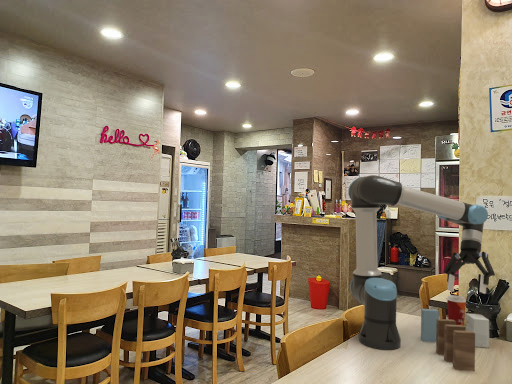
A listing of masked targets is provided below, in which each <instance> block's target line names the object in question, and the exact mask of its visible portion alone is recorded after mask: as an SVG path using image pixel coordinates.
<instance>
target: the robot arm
mask: <svg viewBox="0 0 512 384" xmlns="http://www.w3.org/2000/svg"><path fill="white" fill-rule="evenodd" d="M347 193H348V197H349V199H350V201H351V209H352V210H353V212H354V213H355V246H356V247H355V253H356V255H355V258H356V260H355V262H356V268H355V270H353V272H352V279H351V281H350V284H349V288H350V293H351V295H352V297H353V298H354V300H355V301H357V302H358V303H360V304H361V305H362V306H364V307H363V308H364V310H363V311H364V313H363V315H364V316H363V317H364V318H363V323H362V324H361V325H362V326H361V329H360V330H359V335H358V340H359V343H361V344H363V345H365V346H366V347H367V346H368V347H370V348H372V349H378V350H397V349H399V348H401V341H402V339H401V336H400V332H399V330H398V325H397V301H398V299H397V298H398V290H397V286H396V283H394V282H393V281H392V280H389V279H385V278H382V277H383V275H382V272H381V271H380V270H379V269H378V268H379V267H378V264H379V263H378V225H377V224H378V222H377V221H378V220H377V217H378V216H377V212H378V211H379V210H380V209H381V205H388V206H390V207H391V206H392V207H396V206H401V207H406V208H409V209H413V210H415V211H417V210H418V211H421V212H424V213H429V214H433V215H434V216H435V215H436V216H437V217H438V218H439V219H441V220H443V221H446V222H450V223H452V224H456V225H458V226H461V227H462V232H461V241H460V246H459V247H460V248H459V249H460V252H459V253H457V252H453V253H452V256H451V258H450V260H449V261H448V263H447V265H446V266H445V268H444V270H443V273H445V274H446V275H447V278H446V279H447V280H446V282H447V290H448V291H450V292H454V288H455V281H456V276H454V275H456V273H457V272H458V271H459V270H460V269H461V268H462V266H465V265H470V264H471V265H476V267H477V268H478V270H479V271H480V272H481V273H482V274H481V275H480V283H479V292H480V293H482V294H483V295H486V294H487V293H486V292H487V286H489V284H490V277H494V276H496V272H495V271H494V268H493V266H492V265H491V264H492V263H491V261H490V260H489V254H488V253H487V252H486V251H482V242H483V235H484V234H483V233H484V232H483V231H484V226H485V225H484V224H485V222H486V221H487V220H488V218H489V212H488V210H487V208H486V207H485V206H484V205H480V204H476V203H475V204H472V203H468V202H463V201H459V200H456V199H452V198H448V197H446V196H442V195H437V194H433V193H430V192H428V191H427V192H426V191H422V190H419V189H415V188H412V187H409V186H404V185H403V183H402V182H399V181H396V180H393V179H390V178H386V177H384V176H383V177H382V176H380V175H373V174H371V175H366V176H360V177H358V178H356V179H354V180H353V181H352V182H351V183H350V185H349V187H348V191H347ZM480 258H481V259H482V261H483V264H484V265H483V264H482V262H481V261H480ZM484 266H485V267H484Z"/></svg>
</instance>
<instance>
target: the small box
mask: <svg viewBox="0 0 512 384" xmlns="http://www.w3.org/2000/svg"><path fill="white" fill-rule="evenodd" d="M465 322H466V323H465V325H466V326H465V331H472V332H474V333H475V348H476V347H477V348H488V349H489V348H490V320H489V319H488V318H487V317H485V316H484V315H482V314H479V313H466V312H465Z"/></svg>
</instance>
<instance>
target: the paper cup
mask: <svg viewBox="0 0 512 384" xmlns="http://www.w3.org/2000/svg"><path fill="white" fill-rule="evenodd" d="M466 301H467V299H466V297H464V296H460V295H455V294H454V295H453V294H451V295H448V296H447V298H446V302H447V318H448V319H447V320H454V321H456V325H463V326H464V327H465V320H466V305H467V302H466Z"/></svg>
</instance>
